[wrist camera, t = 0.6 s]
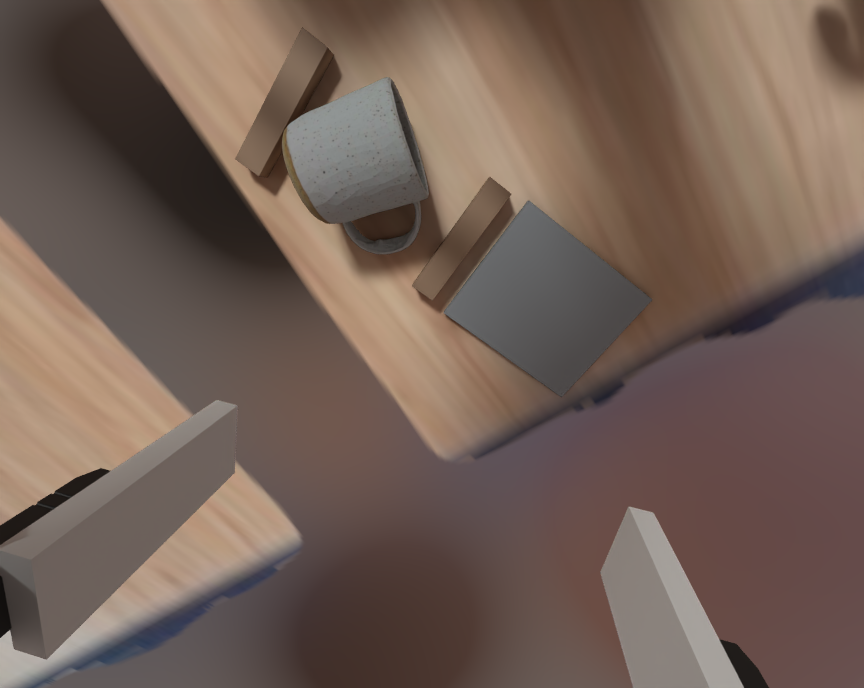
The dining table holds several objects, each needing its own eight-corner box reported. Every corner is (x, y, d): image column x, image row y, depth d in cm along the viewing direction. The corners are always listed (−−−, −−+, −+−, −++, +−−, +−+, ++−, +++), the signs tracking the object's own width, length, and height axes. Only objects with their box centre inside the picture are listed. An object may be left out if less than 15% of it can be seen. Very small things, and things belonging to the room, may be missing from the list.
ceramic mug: (299, 132, 32) (255, 114, 24) (400, 90, 30) (385, 59, 23) (353, 265, 35) (328, 284, 28) (446, 232, 34) (446, 244, 27)
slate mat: (527, 200, 32) (529, 200, 32) (649, 297, 35) (652, 299, 34) (443, 311, 36) (443, 313, 35) (559, 394, 38) (561, 397, 37)
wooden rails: (309, 36, 30) (302, 27, 28) (508, 194, 32) (511, 194, 31) (245, 161, 32) (235, 159, 31) (433, 296, 35) (432, 300, 34)
